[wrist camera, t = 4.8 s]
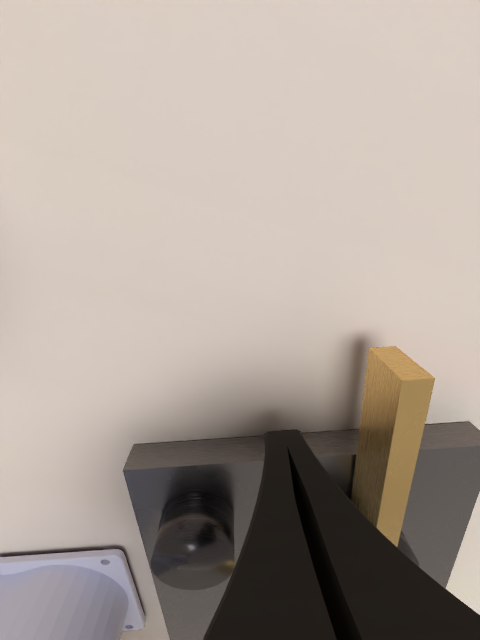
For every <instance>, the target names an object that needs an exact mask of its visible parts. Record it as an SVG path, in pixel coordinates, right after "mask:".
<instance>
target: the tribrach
mask: <svg viewBox="0 0 480 640" xmlns="http://www.w3.org/2000/svg"><path fill="white" fill-rule="evenodd" d="M301 435H302V436H303V438H304V440H305V441H306V443H307V444H308V446H309V447H310V449H311V450H312V452H313V453H314V455H315V456H316V458H317V459H318V460H319V462H320V463H321V464H322V466H323V467H324V468H325V470H326V471H327V472H328V474H329V475H330V476H331V478H332V479H333V480H334V481H335V483H336V484H337V485H338V486H339V487H340V489H341V490H342V491H343V492H344V493H345V495H346V496H347V497H348V498H349V499H350V500H351V495H352V487H353V479H354V470H355V462H356V454H357V446H358V437H359V429H357V430H342V431H327V432H313V433H301ZM264 458H265V439H264V436H254V437H239V438H225V439H210V440H195V441H181V442H166V443H151V444H137V445H133V447H132V450H131V452H130V455H129V457H128V459H127V462H126V464H125V466H124V469H123V473H124V476H125V480H126V483H127V487H128V490H129V494H130V498H131V501H132V505H133V508H134V512H135V516H136V519H137V523H138V526H139V530H140V533H141V537H142V541H143V544H144V548H145V551H146V555H147V558H148V562H149V566H150V569H151V573H152V576H153V580H154V584H155V587H156V591H157V594H158V598H159V601H160V605H161V609H162V612H163V616H164V619H165V623H166V627H167V630H168V634H169V637H170V640H203V638H204V635H205V633H206V631H207V629H208V627H209V625H210V623H211V620H212V618H213V616H214V614H215V612H216V610H217V608H218V605H219V603H220V601H221V599H222V597H223V594H224V592H225V590H226V587H227V585H228V582H229V580H230V577H231V575H232V573H233V570H234V568H235V565H236V563H237V560H238V558H239V555H240V552H241V549H242V546H243V543H244V541H245V538H246V535H247V532H248V529H249V525H250V522H251V519H252V515H253V512H254V508H255V505H256V501H257V496H258V492H259V487H260V483H261V478H262V472H263V465H264ZM479 491H480V430H478V429H477V428H476V427H475V426H474V425H473V424H472V423H470V422H459V423H445V424H430V425H424V430H423V434H422V439H421V443H420V448H419V452H418V457H417V461H416V466H415V470H414V475H413V479H412V483H411V488H410V492H409V497H408V501H407V506H406V510H405V515H404V519H403V524H402V528H401V530H402V532H403V534H404V536H405V538H406V539H407V541H408V543H409V545H410V547H411V549H412V551H413V552H414V554H415V556H416V558H417V560H418V562H419V565H420V568H421V569H422V570H423V571H424V572H426V573H427V574H428V575H429V576H430V577H432V578H433V579H434V580H435V581H436V582H438V583H439V584H440V585H441V586H442V587H444V588H445V589H446V586H447V583H448V580H449V577H450V574H451V571H452V568H453V566H454V563H455V560H456V557H457V554H458V551H459V548H460V546H461V543H462V540H463V537H464V534H465V531H466V528H467V525H468V523H469V520H470V517H471V514H472V511H473V508H474V505H475V503H476V500H477V497H478V494H479Z"/></svg>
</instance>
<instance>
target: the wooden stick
mask: <svg viewBox="0 0 480 640" xmlns="http://www.w3.org/2000/svg"><path fill="white" fill-rule="evenodd" d="M434 381H435V378H434V377H433V376H432V375H430V374H429V373H428V372H427V371H425V370H424V369H423V368H422V367H420V366H419V365H418V364H417V363H416V362H414V361H413V360H412V359H411V358H409V357H408V356H407V355H406V354H404V353H403V352H402V351H401V350H400V349H398V348H397V347H396V346H392V347H377V348H369V354H368V363H367V371H366V379H365V387H364V396H363V404H362V412H361V421H360V429H359V437H358V446H357V454H356V462H355V470H354V479H353V487H352V495H351V501H352V503H353V504H354V505H355V506H356V507H357V508H358V509H359V510H360V511H361V512H362V513H363V514H364V515H365V517H366V518H367V519H368V520H369V521H370V522H371V523H372V524H373V525H374V526H375V527H376V528H377V529H378V530H379V531H380V532H381V533H382V534H383V535H384V536H385V537H386V538H387V539H389V540H390V541H391V542H392V543H393V544H394V545H395V546H396V547H397V548H399V549H400V550H401V551H402V552H403V553H404V554H405V555H406V556H407V557H408V558H410V559H411V560H412V561H413V562H414V563H415V564H416V565H417V566H419V567H420V565H419V562H418V560H417V558H416V556H415V554H414V552H413V551H412V549H411V547H410V545H409V543H408V541H407V539H406V538H405V536H404V534H403V532H402V530H401V528H402V524H403V519H404V515H405V510H406V506H407V501H408V497H409V492H410V488H411V483H412V479H413V475H414V470H415V466H416V461H417V457H418V452H419V448H420V443H421V439H422V434H423V430H424V425H425V421H426V417H427V412H428V408H429V403H430V399H431V394H432V390H433V385H434Z"/></svg>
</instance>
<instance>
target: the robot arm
mask: <svg viewBox="0 0 480 640" xmlns="http://www.w3.org/2000/svg"><path fill="white" fill-rule="evenodd" d="M264 439H265V458H264V465H263V472H262V478H261V483H260V487H259V492H258V496H257V501H256V505H255V508H254V512H253V515H252V519H251V522H250V525H249V529H248V532H247V535H246V538H245V541H244V543H243V546H242V549H241V552H240V555H239V558H238V560H237V563H236V565H235V568H234V570H233V573H232V575H231V577H230V580H229V582H228V585H227V587H226V590H225V592H224V594H223V597H222V599H221V601H220V603H219V605H218V608H217V610H216V612H215V614H214V616H213V618H212V620H211V623H210V625H209V627H208V629H207V631H206V633H205V635H204V638H203V640H480V615H479V614H477V613H476V612H475V611H473V610H472V609H471V608H469V607H468V606H467V605H466V604H464V603H463V602H462V601H460V600H459V599H458V598H456V597H455V596H454V595H453V594H451V593H450V592H449V591H448V590H446V589H445V588H444V587H442V586H441V585H440V584H439V583H438V582H436V581H435V580H434V579H433V578H432V577H430V576H429V575H428V574H427V573H426V572H424V571H423V570H422V569H421V568H420V567H419V566H417V565H416V564H415V563H414V562H413V561H412V560H411V559H410V558H408V557H407V556H406V555H405V554H404V553H403V552H402V551H401V550H400V549H399V548H397V547H396V546H395V545H394V544H393V543H392V542H391V541H390V540H389V539H387V538H386V537H385V536H384V535H383V534H382V533H381V532H380V531H379V530H378V529H377V528H376V527H375V526H374V525H373V524H372V523H371V522H370V521H369V520H368V519H367V518H366V517H365V515H364V514H363V513H362V512H361V511H360V510H359V509H358V508H357V507H356V506H355V505H354V504H353V503H352V501H351V500H350V499H349V498H348V497H347V496H346V495H345V493H344V492H343V491H342V490H341V489H340V487H339V486H338V485H337V484H336V483H335V481H334V480H333V479H332V478H331V476H330V475H329V474H328V472H327V471H326V470H325V468H324V467H323V466H322V464H321V463H320V462H319V460H318V459H317V458H316V456H315V455H314V453H313V452H312V450H311V449H310V447H309V446H308V444H307V443H306V441H305V440H304V438H303V436H302V435H301V433H300V431H298V430H284V431H269V432H266V433H265V434H264ZM144 625H145V616H144V613H143V610H142V607H141V604H140V601H139V597H138V594H137V591H136V588H135V585H134V582H133V579H132V576H131V573H130V570H129V567H128V563H127V560H126V557H125V554H124V553H123V551H121V550H119V549H108V550H94V551H80V552H66V553H52V554H38V555H24V556H10V557H0V640H120V636H121V633H122V631H133V630H141V629H142V628H143V627H144Z"/></svg>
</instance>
